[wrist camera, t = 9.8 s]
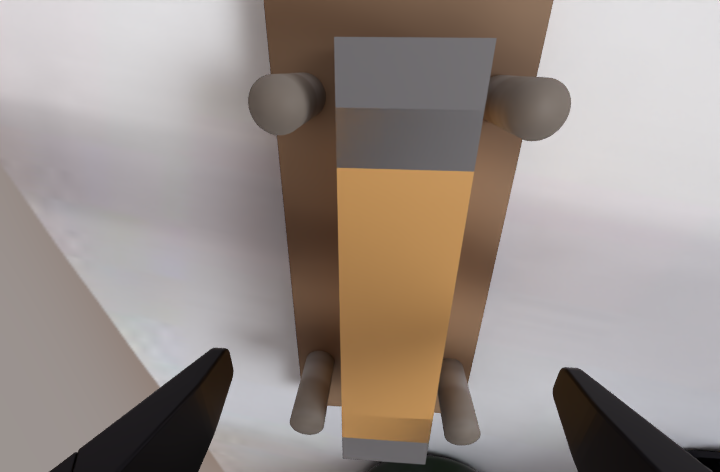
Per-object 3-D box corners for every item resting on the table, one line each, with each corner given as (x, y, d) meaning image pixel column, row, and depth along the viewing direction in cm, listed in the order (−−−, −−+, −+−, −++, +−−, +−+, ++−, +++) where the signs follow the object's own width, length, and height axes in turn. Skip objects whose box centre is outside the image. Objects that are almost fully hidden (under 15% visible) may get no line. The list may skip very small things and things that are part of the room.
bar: (417, 386, 18) (425, 464, 15) (350, 382, 18) (342, 458, 15) (460, 47, 11) (496, 38, 7) (350, 46, 11) (334, 36, 8)
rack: (455, 391, 20) (476, 482, 16) (308, 382, 21) (287, 468, 16) (538, -17, 11) (640, -72, 7) (274, -16, 12) (207, -68, 7)
